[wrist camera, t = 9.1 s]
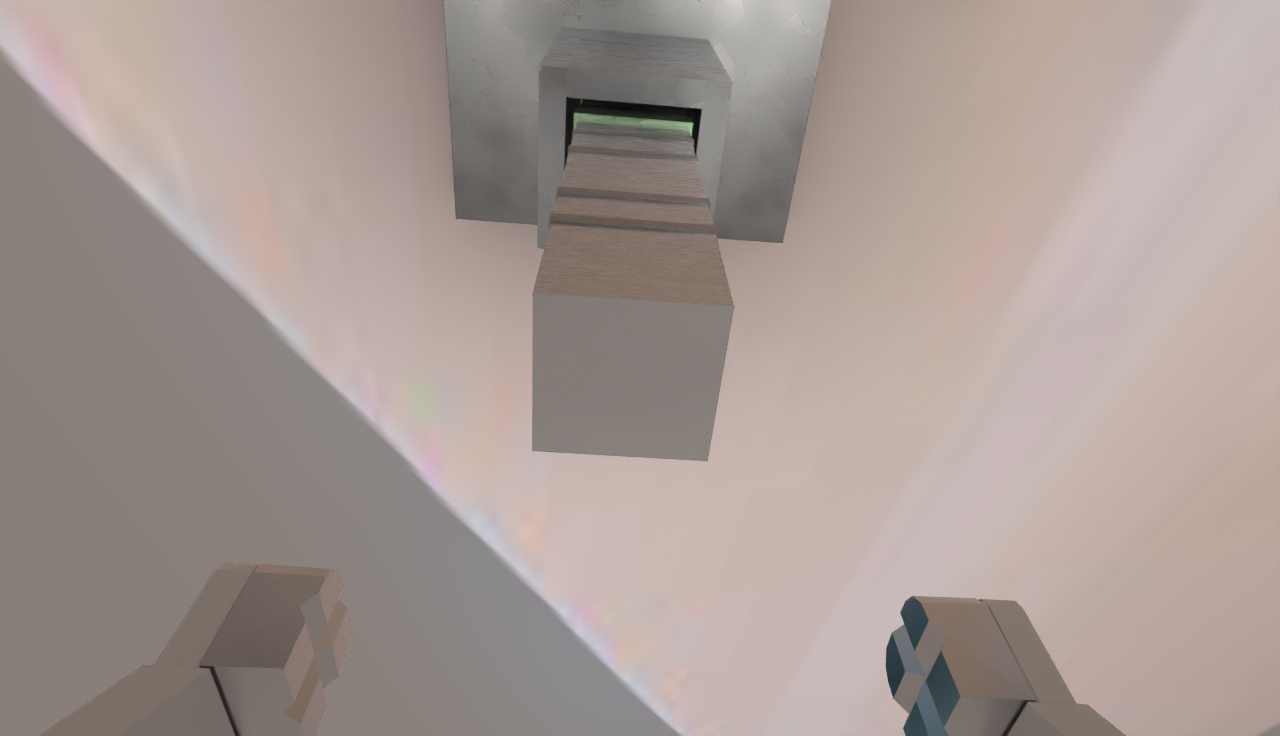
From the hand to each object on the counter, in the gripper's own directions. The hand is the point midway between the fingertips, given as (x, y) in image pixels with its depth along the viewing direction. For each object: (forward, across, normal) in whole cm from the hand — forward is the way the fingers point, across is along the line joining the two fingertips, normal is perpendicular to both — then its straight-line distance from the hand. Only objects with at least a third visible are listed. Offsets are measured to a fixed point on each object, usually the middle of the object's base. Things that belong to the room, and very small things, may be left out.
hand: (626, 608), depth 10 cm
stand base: (+33, 0, 0) cm, 33 cm away
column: (+24, 0, 0) cm, 24 cm away
